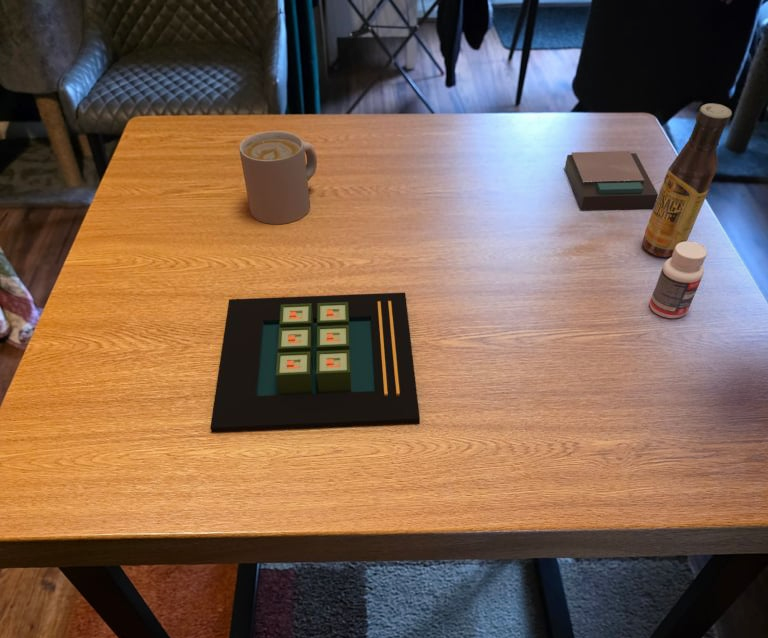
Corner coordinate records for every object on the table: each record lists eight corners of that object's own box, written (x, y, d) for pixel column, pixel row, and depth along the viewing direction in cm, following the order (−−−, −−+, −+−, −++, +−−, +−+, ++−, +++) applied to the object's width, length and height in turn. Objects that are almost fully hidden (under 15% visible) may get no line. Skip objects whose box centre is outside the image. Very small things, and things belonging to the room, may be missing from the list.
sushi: (419, 423, 79) (420, 401, 76) (211, 432, 79) (204, 410, 76) (405, 297, 94) (405, 274, 91) (230, 304, 94) (225, 281, 91)
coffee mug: (269, 231, 105) (259, 167, 97) (239, 205, 110) (227, 142, 102) (339, 204, 110) (334, 141, 102) (307, 180, 114) (301, 118, 106)
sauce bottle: (632, 242, 102) (677, 101, 86) (666, 233, 103) (717, 94, 87) (657, 264, 98) (709, 122, 82) (692, 255, 100) (750, 114, 84)
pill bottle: (678, 324, 90) (703, 266, 83) (642, 310, 92) (663, 252, 85) (693, 304, 93) (718, 247, 85) (657, 291, 94) (679, 234, 87)
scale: (632, 167, 116) (637, 148, 114) (653, 208, 108) (659, 189, 105) (564, 168, 116) (568, 149, 113) (580, 210, 108) (585, 191, 105)
